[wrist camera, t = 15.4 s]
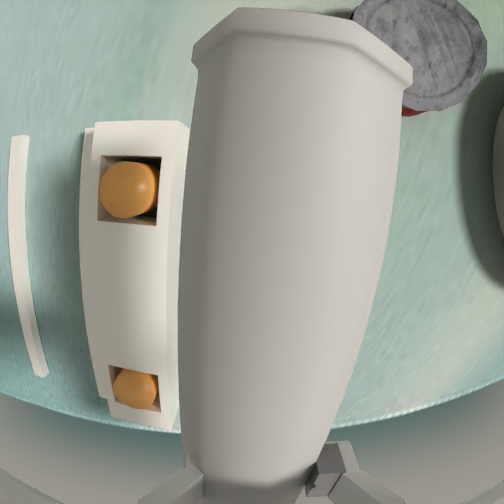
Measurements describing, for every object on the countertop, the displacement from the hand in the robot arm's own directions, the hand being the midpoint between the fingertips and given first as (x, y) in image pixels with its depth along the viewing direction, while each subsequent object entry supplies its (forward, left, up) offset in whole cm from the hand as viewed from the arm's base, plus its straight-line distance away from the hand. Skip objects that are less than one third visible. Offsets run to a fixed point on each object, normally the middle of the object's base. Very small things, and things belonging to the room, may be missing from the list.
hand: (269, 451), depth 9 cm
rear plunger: (-10, -8, -14) cm, 19 cm away
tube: (-1, 0, -3) cm, 3 cm away
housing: (-15, 0, -14) cm, 21 cm away
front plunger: (-10, +8, -14) cm, 19 cm away
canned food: (+8, +21, -15) cm, 27 cm away
